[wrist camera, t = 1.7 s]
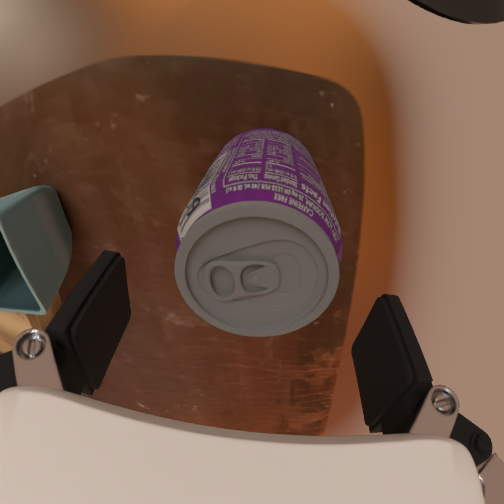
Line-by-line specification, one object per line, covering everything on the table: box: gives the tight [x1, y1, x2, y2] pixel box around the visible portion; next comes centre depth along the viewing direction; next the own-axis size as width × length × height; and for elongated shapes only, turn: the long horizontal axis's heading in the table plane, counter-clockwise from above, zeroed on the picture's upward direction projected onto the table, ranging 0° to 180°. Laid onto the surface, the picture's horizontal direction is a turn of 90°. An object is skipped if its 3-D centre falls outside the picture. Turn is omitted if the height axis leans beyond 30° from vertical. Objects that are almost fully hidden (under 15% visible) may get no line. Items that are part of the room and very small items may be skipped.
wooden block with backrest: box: [0, 290, 63, 354], centre depth 27 cm, size 14×16×9 cm
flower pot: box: [0, 185, 72, 315], centre depth 20 cm, size 9×9×9 cm
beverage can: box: [175, 128, 343, 337], centre depth 16 cm, size 7×7×12 cm
